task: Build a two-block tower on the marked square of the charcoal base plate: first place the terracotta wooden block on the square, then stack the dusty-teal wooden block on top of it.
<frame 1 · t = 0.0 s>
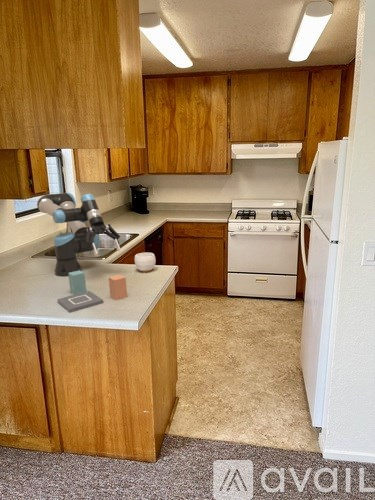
hand: (107, 252, 196), 15 cm above the worktop, tool tilted 35°, fingers open, 13 cm apart
teal block: (78, 291, 182), on the worktop
terracotta block: (118, 296, 173), on the worktop
cup: (145, 270, 213), on the worktop
base plate: (80, 302, 168), on the worktop
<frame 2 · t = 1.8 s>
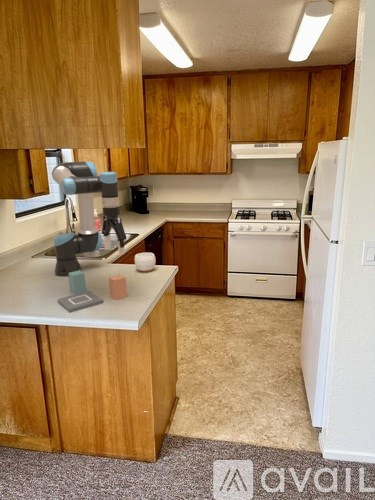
hand: (114, 251, 168), 23 cm above the worktop, tool pointing down, fingers open, 13 cm apart
nothing on the worktop moved.
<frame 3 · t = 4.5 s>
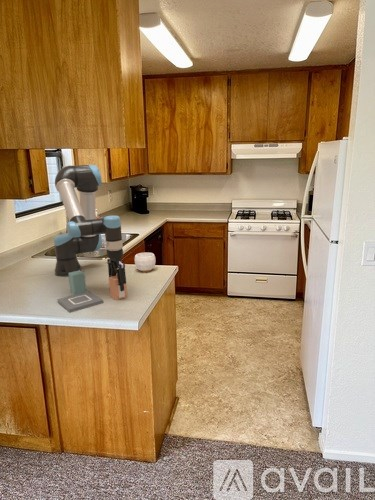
hand: (118, 294, 173), 1 cm above the worktop, tool pointing down, fingers closed on terracotta block, 6 cm apart
terracotta block: (118, 296, 173), on the worktop, touching gripper
everything else where it was.
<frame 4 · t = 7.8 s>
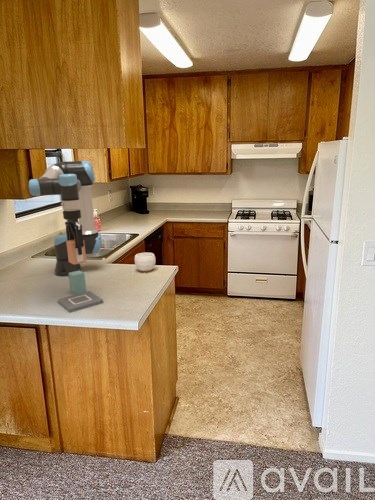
hand: (77, 259, 163), 21 cm above the worktop, tool pointing down, fingers closed on terracotta block, 6 cm apart
terracotta block: (77, 261, 163), point 20 cm above the worktop, touching gripper
everything else where it was.
when the fingers open (4 cm above the worktop, at t = 11.5 s): terracotta block drops 1 cm, resting on base plate.
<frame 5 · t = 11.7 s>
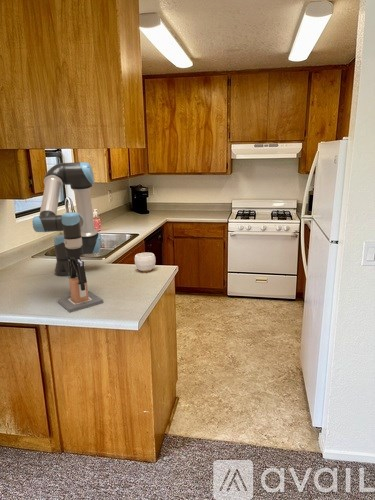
hand: (79, 293, 167), 4 cm above the worktop, tool pointing down, fingers open, 8 cm apart
terracotta block: (80, 299, 167), point 1 cm above the worktop, touching base plate
everything else where it was.
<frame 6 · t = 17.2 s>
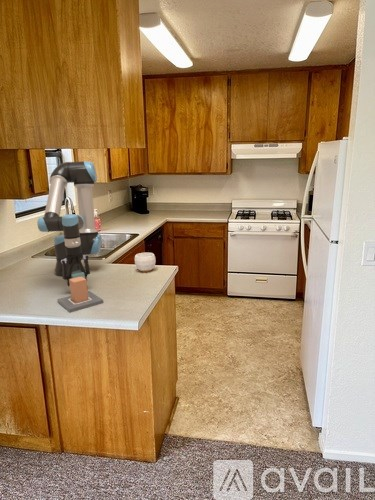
hand: (78, 289, 182), 1 cm above the worktop, tool pointing down, fingers closed on teal block, 6 cm apart
teal block: (78, 291, 182), on the worktop, touching gripper
everything else where it was.
when the fingers open (14 cm above the worktop, at t = 23.5 s): teal block drops 1 cm, resting on terracotta block.
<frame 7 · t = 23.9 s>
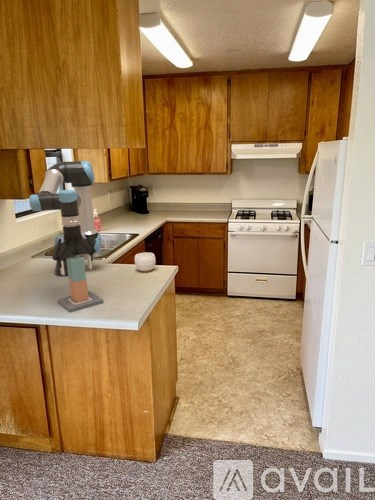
hand: (76, 271, 164), 15 cm above the worktop, tool pointing down, fingers open, 12 cm apart
teal block: (77, 279, 165), point 11 cm above the worktop, touching terracotta block
terracotta block: (80, 299, 167), point 1 cm above the worktop, touching base plate, teal block
everything else where it was.
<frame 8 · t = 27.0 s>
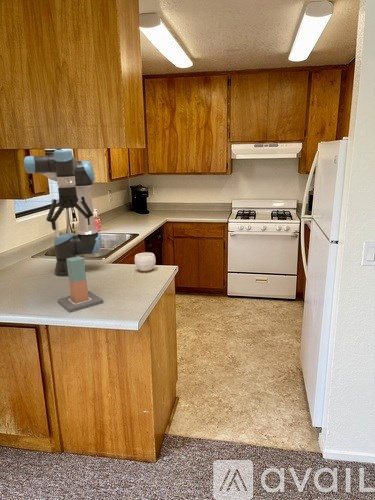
hand: (72, 234, 160), 33 cm above the worktop, tool pointing down, fingers open, 13 cm apart
nothing on the worktop moved.
at the end: terracotta block 0.0 cm off-centre on the base plate, point 1.5 cm above the base plate's base; teal block 0.1 cm off-centre on the base plate, point 11.5 cm above the base plate's base; teal block tilted 0° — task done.
